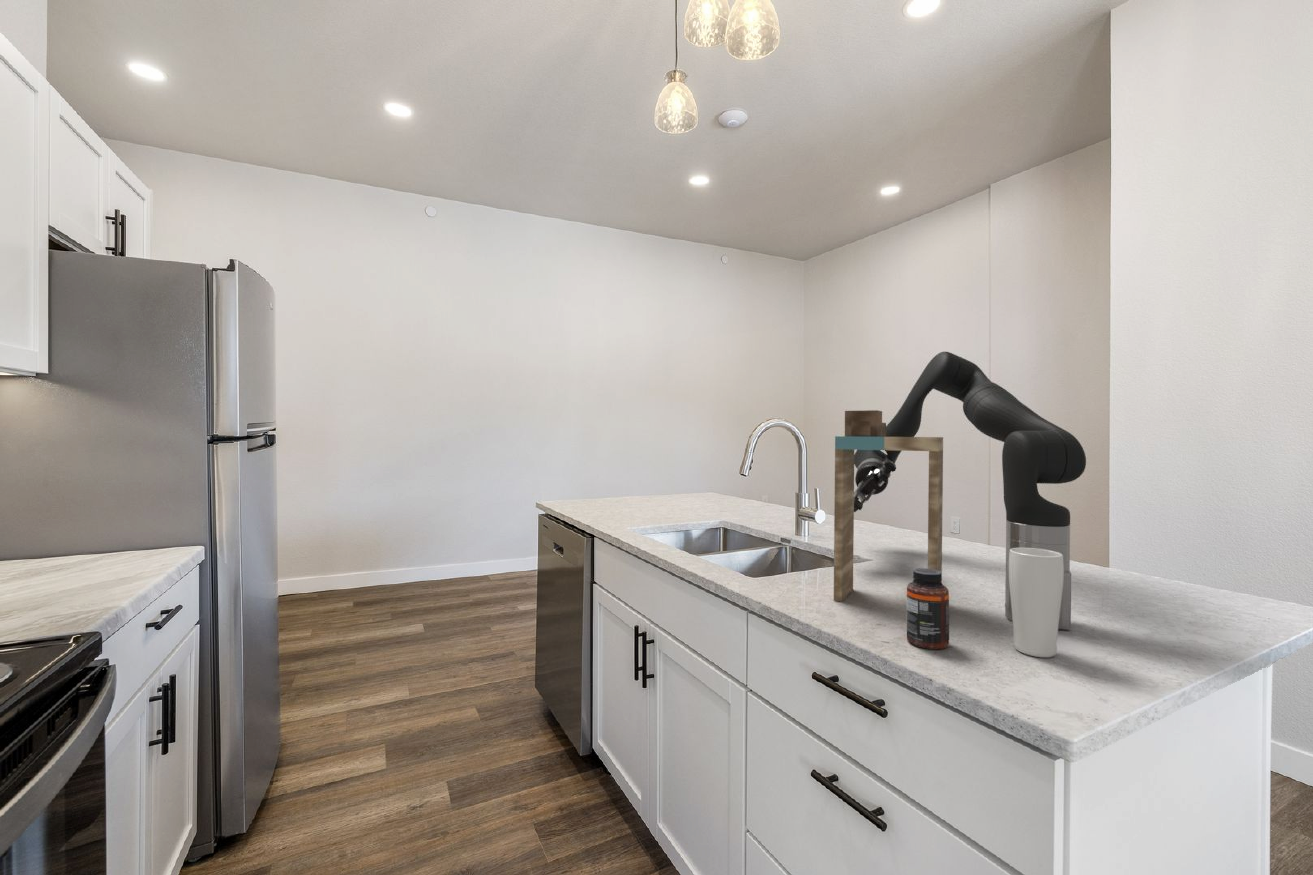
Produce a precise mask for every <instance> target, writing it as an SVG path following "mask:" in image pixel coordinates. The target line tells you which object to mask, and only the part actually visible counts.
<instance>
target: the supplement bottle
mask: <svg viewBox="0 0 1313 875" xmlns="http://www.w3.org/2000/svg"><path fill="white" fill-rule="evenodd" d="M912 573H913V575H912V578H913V580H912V581H911V582H909V583H908V584H907V585H906V639H907V642H909V643H910V644H912V646H913V645H914V646H915V647H919V648H923V649H927V650H941V649H945V648H947V647H948V646H949V645H950V593H949V589H948V588H947V586H946V585H944V584H943V582H942V583H941V581H943V579H942V577H943V576H942V575H943V572H942V573H941V572H940V571H938V570H935V569H928V567H927V568H926V567H925V568H924V567H920V568H914V569H913V570H912Z"/></svg>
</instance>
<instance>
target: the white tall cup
mask: <svg viewBox="0 0 1313 875" xmlns="http://www.w3.org/2000/svg"><path fill="white" fill-rule="evenodd" d="M1063 579H1064V565H1063V555H1062V554H1061V553H1058V552H1055V551H1050V550H1044V549H1036V548H1012V549H1010V553H1009V585H1010V597H1011V608H1012V620H1013V621H1012V629H1013V632H1012V634H1013V639H1012V640H1013V647H1014V648H1015V649H1016V651H1018V652H1020V653H1022V654H1025V655H1027V656H1031V657H1035V658H1042V659H1044V658H1046V659H1047V658H1048V659H1049V658H1053V657H1054V656H1056V655H1057V649H1058V634H1059V629H1058V626H1059V617H1060V608H1061V600H1062V591H1063Z"/></svg>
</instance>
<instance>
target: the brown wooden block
mask: <svg viewBox="0 0 1313 875" xmlns="http://www.w3.org/2000/svg"><path fill="white" fill-rule="evenodd" d="M886 426H887V423H886V422H883V411H882V410H874V409H873V410H844V436H847V437H886Z"/></svg>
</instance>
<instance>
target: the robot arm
mask: <svg viewBox="0 0 1313 875" xmlns="http://www.w3.org/2000/svg"><path fill="white" fill-rule="evenodd" d="M933 390H935V391H936V392H937V391H938V392H940V393H942V394H944V395H947V396H949V397H951V398H954V399H957V400H958V401H960V402H962V411H963V414H964V416H965V417H966V418H967V420H968V421H969V422H970V423H971V424H972V425H973V426H974V428H976V429H977V430H978V431H979V432H980V433H982V434H984V435H985V436H987V437H989V438H991V439H993V440H997V441H1000V442H1003V445H1002V452H1001V461H1002V462H1001V465H1002V466H1001V467H1002V468H1001V469H1002V479H1003V480H1002V481H1003V482H1002V483H1003V484H1002V486H1003V503H1004V509H1005V514H1006V515H1005V525H1006V526H1005V529H1006V530H1005V591H1004V592H1005V598H1004V601H1005V602H1004V608H1005V609H1004V616H1005V618H1007V619H1008V620H1009V621H1011V622H1013V620H1012V608H1011V597H1010V585H1009V553H1010V549H1012V548H1036V549H1044V550H1050V551H1055V552H1058V553H1061V554H1062V555H1063V565H1064V579H1063V591H1062V600H1061V608H1060V617H1059V626H1058V630H1067V631H1071V629H1072V628H1071V627H1072V626H1071V625H1072V624H1071V623H1072V572H1071V570H1070V565H1071V564H1070V562H1071V560H1070V558H1071V556H1070V555H1071V512H1070V510H1069V508H1067V507H1066V506H1063V505H1062V504H1057V503H1055V502H1052V501H1049V500H1047V499H1046V498H1044V497H1043V496H1042V495H1040V493H1039V490H1038V484H1047V485H1049V484H1050V485H1051V484H1055V485H1058V484H1059V485H1060V484H1066V483H1071V482H1074V481H1076V480H1077V479H1078V478H1080V477H1081V476H1082V475H1083V474H1084V472H1085V469H1086V466H1087V457H1086V452H1085V450H1084V447H1083V446H1082V444H1081V442H1080V441H1079V440H1078V439H1077V438H1076V437H1075V435H1073V434H1072V433H1071V432H1069V431H1067V430H1065V429H1064V428H1062V427H1060V426H1059V425H1056V424H1055V423H1052V422H1050V421H1049V420H1047V419H1045V418H1044V417H1042V416H1040V415H1039V414H1038V413H1037V412H1035V411H1034V410H1032V409H1031V408H1030V407H1029V406H1027V405H1025V404H1024V403H1023V402H1021V400H1019V399H1018V398H1016V396H1014V395H1013V394H1012V393H1011V392H1009V391H1008V390H1007V389H1005V388H1003V387H1002V386H1001V385H999V384H997V383H995V382H993V381H991V380H990V379H989V377H988V376H987V375H986V374H985V372H983V370H982V369H981V368H980V367H979V366H978V365H977V364H975V363H974V362H972V361H970V360H968V359H966V358H963V357H961V356H959V355H957V354H954V353H952V352H949V351H941V352H939V353H937V354H935V356H933V357H932V358H931V360H930V361H929V362H928V363H927V364H926V366H925V367H924V369H923V370H922V372H921V374H920V376H919V377H918V379H917V380H916V382H915V384H913V387H912V388H911V390H910V392H909V393H908V395H907V396H906V399H905V400H904V402H903V404H902V405H901V407H900V408H899V409H898V411H897V413H896V414H895V415H894V416H893V418H892V419H891V420H890V422H888V424H886V437H916V435H917V433H918V432H919V429H920V427H921V422H922V414H923V412H922V411H923V405H924V401H925V399H926V398H927V396H928V395H929V394H930V392H931V391H933ZM901 453H902V451H899V450H884V451H883V450H856V451H855V452H854V467H855V468H856V473H855V476H854V483H855V485H856V489H854V513H856V512H858V510H859V511H862V509H863V507H864V504H865V503H867V502H869V500H870V498H871V497H872V496H873V495H874V496H875V495H878V494H880V493H882V492H884V491H885V490H886V488H887V486H888V485H889V478H890V477H891V475H892V474H891V473H893V472H895V471H896V469H897V466H896V462H897V460H898V458H899V455H900V454H901Z"/></svg>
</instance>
